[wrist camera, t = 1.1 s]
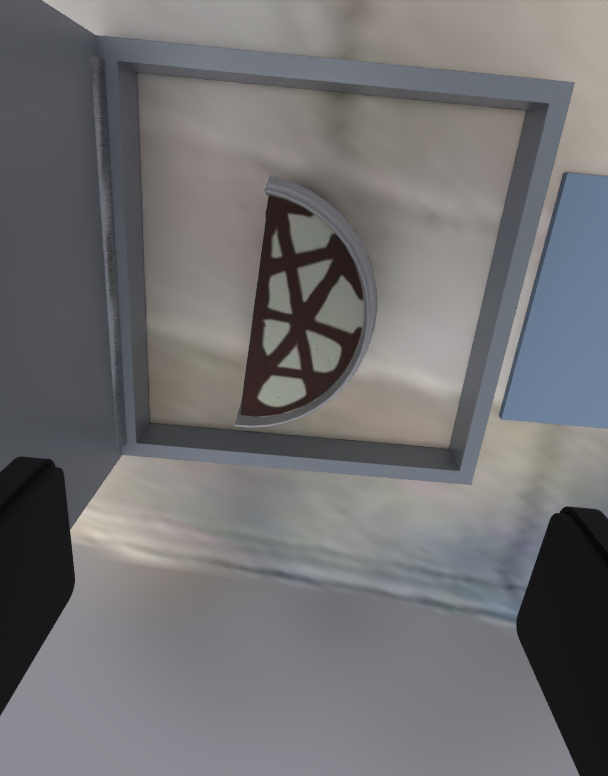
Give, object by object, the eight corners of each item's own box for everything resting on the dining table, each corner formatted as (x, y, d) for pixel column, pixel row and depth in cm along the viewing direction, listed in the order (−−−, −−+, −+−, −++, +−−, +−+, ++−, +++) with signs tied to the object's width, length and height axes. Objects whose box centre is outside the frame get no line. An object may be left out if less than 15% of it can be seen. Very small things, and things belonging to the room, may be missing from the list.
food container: (342, 380, 35) (352, 454, 26) (255, 366, 35) (233, 435, 25) (382, 194, 30) (411, 202, 21) (281, 176, 30) (266, 175, 21)
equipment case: (99, 47, 28) (-336, -213, 9) (549, 91, 28) (1003, -74, 9) (122, 432, 37) (-69, 688, 18) (459, 461, 37) (600, 740, 19)
